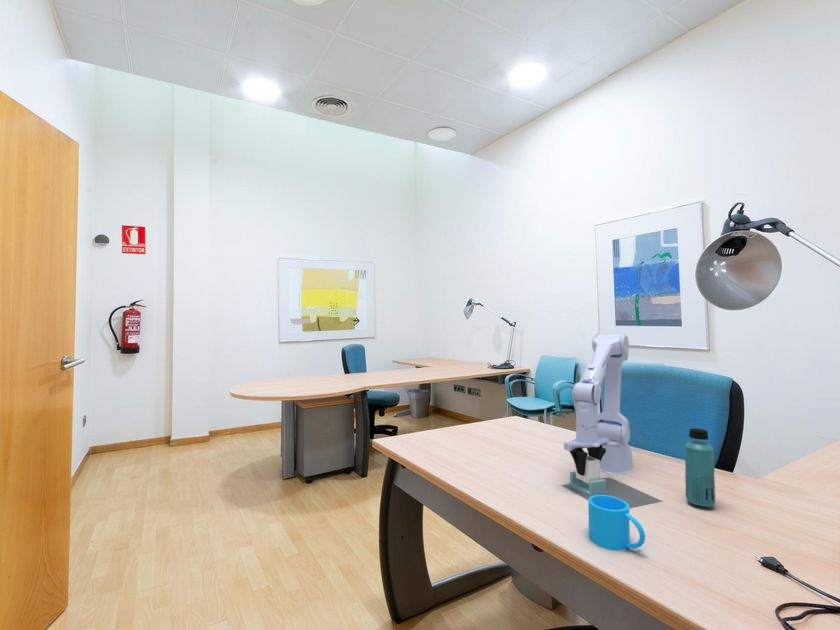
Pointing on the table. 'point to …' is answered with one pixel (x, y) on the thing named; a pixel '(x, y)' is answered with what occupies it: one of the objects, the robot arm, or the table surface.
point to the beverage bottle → (699, 470)
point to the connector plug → (590, 470)
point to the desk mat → (622, 493)
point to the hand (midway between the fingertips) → (587, 473)
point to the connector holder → (588, 485)
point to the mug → (611, 523)
